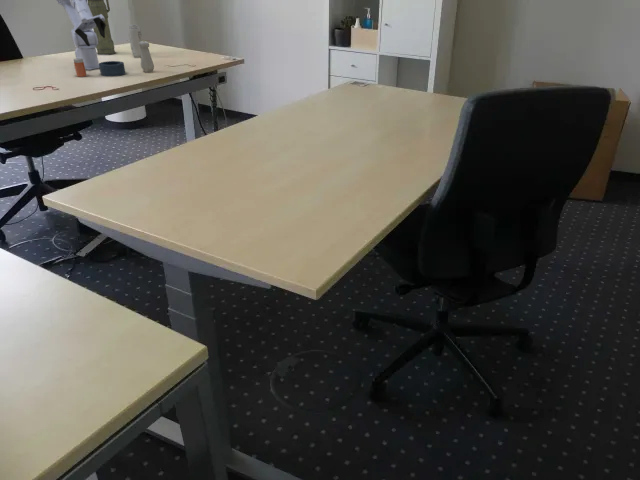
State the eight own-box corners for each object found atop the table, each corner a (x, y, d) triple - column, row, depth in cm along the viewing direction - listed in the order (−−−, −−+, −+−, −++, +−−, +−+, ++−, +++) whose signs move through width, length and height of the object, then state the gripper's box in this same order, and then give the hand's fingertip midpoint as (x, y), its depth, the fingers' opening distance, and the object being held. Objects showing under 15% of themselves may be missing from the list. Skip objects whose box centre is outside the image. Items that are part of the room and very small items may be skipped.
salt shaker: (152, 73, 246) (147, 42, 240) (140, 72, 246) (134, 42, 240) (156, 70, 251) (152, 40, 245) (144, 70, 251) (139, 40, 245)
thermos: (120, 53, 286) (105, -21, 268) (96, 55, 280) (80, -21, 262) (116, 51, 292) (102, -22, 274) (93, 52, 286) (77, -22, 268)
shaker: (74, 76, 236) (70, 59, 233) (82, 74, 239) (79, 58, 236) (80, 77, 235) (76, 60, 231) (88, 75, 238) (85, 59, 234)
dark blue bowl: (96, 74, 241) (93, 63, 238) (115, 70, 248) (113, 60, 246) (111, 77, 236) (109, 66, 234) (130, 73, 244) (128, 62, 242)
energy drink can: (134, 55, 283) (128, 24, 275) (146, 55, 284) (140, 24, 276) (131, 57, 278) (125, 26, 270) (143, 57, 279) (138, 26, 271)
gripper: (64, 17, 230) (75, 43, 227) (93, 1, 228) (104, 27, 226) (75, 26, 237) (85, 52, 234) (103, 11, 235) (114, 36, 233)
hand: (95, 40), depth 231 cm, fingers open, 7 cm apart
